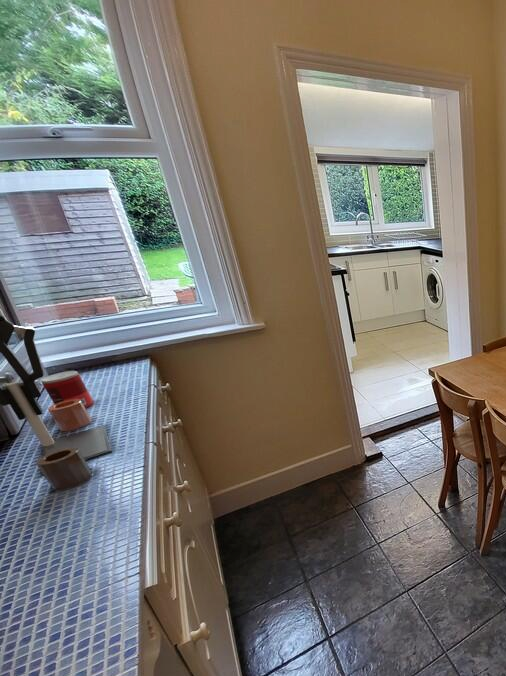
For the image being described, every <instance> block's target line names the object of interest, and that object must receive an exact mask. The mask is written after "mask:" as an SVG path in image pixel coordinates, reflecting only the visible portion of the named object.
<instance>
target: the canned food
mask: <svg viewBox="0 0 506 676" xmlns="http://www.w3.org/2000/svg"><path fill="white" fill-rule="evenodd" d="M40 382H41V384H42V386H43V388H44V389H45V391H46V393H47V394H48V396H49V398H50V399H51V401H52V403H53V405H54V404H57V403H60V402H63V401H67V400H73V399H80V400H81V402H82V403H83V405H84V407H85V409H87V408H89V407H92V405H93V404H94V400H93V398H92V396H91V394H90V392H89V390H88V388H87V387H86V384H85V382H84V381H83V379H82V377H81V375H80V373H78V371H77V370H68V371H67V370H66V371H61V372H57V373H54V374H49V375H47V376H45V377H42V379H41V380H40Z"/></svg>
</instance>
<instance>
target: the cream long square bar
mask: <svg viewBox="0 0 506 676" xmlns="http://www.w3.org/2000/svg"><path fill="white" fill-rule="evenodd" d="M20 383H21V382H19V381H13V382H9V383H6V384H5V386H6V387H7V388H8V390H9V392H10V393H11V395H12V397H13V398H14V400H15V401H16V403H17V405H18V406H19V408H20V410H21V411H22V413H23V415H24V416H25V420H26V422H27V423H28V425H29V427H30V428H31V430H32V432H33V433H34V435H35V436H36V438H37V439H38V441H39V443H40V445H41V447H42V446H45V447H46V448H47V450H49V449H53V448H55V446H54V444H53V443H55V442H54V440H55V439H53V437H52V435H51V433H50V431H49V430H48V428H47V426H46V425H45V423H44V422H43V420H42V418H41V416H40V415H37V414H36V413H35V411H34V409H33V408H32V406H31V404H30V403H29V401H28V399H27V398H26V396H25V394H24V393H23V391H22V389H21V388H20Z"/></svg>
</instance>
